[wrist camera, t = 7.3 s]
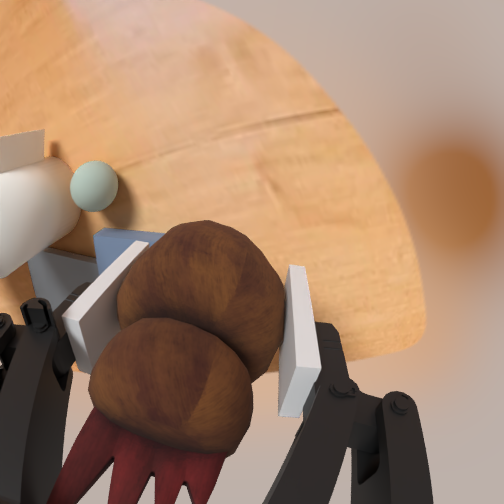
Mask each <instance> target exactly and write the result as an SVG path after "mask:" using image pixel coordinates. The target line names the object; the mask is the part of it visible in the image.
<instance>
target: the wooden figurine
mask: <svg viewBox="0 0 504 504" xmlns="http://www.w3.org/2000/svg"><path fill="white" fill-rule="evenodd" d="M117 317H118V321H119V325H120V329H121V331H120V332H118V333H117V334H116V335H115V336H114V337H113V338H112V339H111V340H110V341H109V342H108V343H107V345H106V347H105V348H104V350H103V351H102V353H101V354H100V356H99V358H98V360H97V362H96V363H95V365H94V367H93V369H92V371H91V376H90V382H89V387H88V391H89V394H90V397H91V400H92V403H93V406H94V408H93V410H92V411H91V413H90V415H89V417H88V418H87V420H86V422H85V424H84V426H83V427H82V429H81V431H80V433H79V434H78V436H77V438H76V440H75V442H74V444H73V446H72V448H71V450H70V453H69V454H68V457H67V459H66V461H65V463H64V465H63V467H62V469H61V471H60V473H59V476H58V478H57V480H56V482H55V485H54V487H53V489H52V491H51V494H50V496H49V498H48V501H47V503H46V504H77V503H78V502H79V500H80V499H81V498H82V497H83V496H84V495H85V494H86V492H87V491H88V490H89V489H90V488H91V487H92V486H93V485H94V484H95V482H96V481H97V480H98V479H99V478H100V477H101V475H102V474H103V473H104V472H105V471H106V470H107V469H108V467H109V466H110V465H111V464H112V463H113V462H114V465H113V471H112V477H111V484H110V491H109V497H108V504H137V503H138V501H139V499H140V497H141V495H142V493H143V491H144V489H145V487H146V485H147V483H148V481H149V479H150V477H151V476H153V477H155V504H175V501H176V498H177V496H178V493H179V491H180V489H181V486H182V485H185V486H187V490H188V493H189V496H190V499H191V502H192V504H207V502H208V499H209V497H210V495H211V493H212V491H213V489H214V487H215V484H216V482H217V479H218V476H219V474H220V471H221V468H222V466H223V463H224V460H225V458H227V457H228V456H230V455H232V454H234V453H235V451H236V449H237V447H238V445H239V444H240V442H241V440H242V439H243V437H244V435H245V433H246V432H247V430H248V428H249V426H250V422H251V417H252V413H253V391H252V385H251V383H253V382H254V381H255V380H256V379H258V378H259V377H260V376H261V375H263V374H264V373H265V372H266V371H267V370H268V367H269V365H270V363H271V361H272V359H273V356H274V354H275V352H276V351H277V349H278V347H279V346H280V344H281V342H282V340H283V334H284V322H285V313H284V286H283V284H282V282H281V280H280V278H279V276H278V274H277V273H276V271H275V270H274V269H273V267H272V266H271V265H270V263H269V262H268V260H267V259H266V257H265V256H264V254H263V253H262V251H261V250H260V249H259V248H258V247H257V246H256V245H255V244H254V243H253V242H252V241H251V240H250V239H249V238H248V237H247V236H246V235H244V234H242V233H240V232H239V231H237V230H235V229H233V228H232V227H229V226H225V225H222V224H219V223H216V222H213V221H210V220H204V221H197V222H190V223H183V224H180V225H177V226H175V227H173V228H171V229H170V230H169V231H168V232H167V233H166V234H164V235H163V236H162V237H161V238H160V239H159V240H158V241H156V242H155V243H154V244H153V245H152V246H151V247H150V248H148V249H147V250H146V251H145V252H144V253H143V254H142V255H141V256H140V257H139V258H138V259H137V261H136V262H135V263H134V264H133V265H132V267H131V269H130V270H129V272H128V274H127V275H126V277H125V279H124V280H123V282H122V284H121V287H120V289H119V292H118V294H117Z"/></svg>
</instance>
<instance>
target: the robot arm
mask: <svg viewBox="0 0 504 504" xmlns="http://www.w3.org/2000/svg"><path fill="white" fill-rule="evenodd" d="M148 248H149V243H148V242H142V241H135V242H134V243H133V244H132V245H131V246H130V247H129V248H127V249H126V250H125V251H124V252H123V253H122V254H121V255H120V256H119V257H118V258H117V259H116V260H115V261H114V262H113V263H112V264H111V265H110V266H109V267H108V268H107V269H106V270H105V271H104V272H103V273H102V274H101V275H100V276H99V277H98V278H97V279H96V280H95V281H94V282H93V283H90V282H85V283H84V284H82V285H80V286H78V287H77V288H76V289H75V290H74V291H73V292H72V293H71V295H69V296H68V297H67V298H66V300H64V301H63V302H62V303H61V304H60V305H59V306H58V307H57V308H56V309H55V310H54V311H52V308H51V304H50V302H49V301H48V300H46V299H45V298H33V299H30V300H28V301H26V302H24V303H23V304H22V305H21V307H20V309H21V312H22V315H23V318H24V321H25V324H26V325H15V324H13V321H12V318H11V316H10V315H8V314H7V313H0V361H1V363H2V365H1V366H0V504H46V503H47V501H48V498H49V496H50V494H51V491H52V489H53V487H54V485H55V482H56V480H57V478H58V476H59V473H60V471H61V469H62V457H63V444H64V432H65V425H66V417H67V409H68V402H69V396H70V389H71V384H72V379H73V371H72V368H71V366H72V365H73V363H74V362H75V360H76V363H77V366H78V369H79V370H80V371H82V372H85V373H88V374H90V375H91V371H92V369H93V367H94V365H95V363H96V362H97V360H98V358H99V356H100V354H101V353H102V351H103V350H104V348H105V347H106V345H107V343H108V342H109V341H110V340H111V339H112V338H113V337H114V336H115V335H116V334H117V333H118V332H120V331H121V329H120V325H119V321H118V317H117V294H118V292H119V289H120V287H121V284H122V282H123V280H124V279H125V277H126V275H127V274H128V272H129V270H130V269H131V267H132V265H133V264H134V263H135V262H136V261H137V259H138V258H139V257H140V256H141V255H142V254H143V253H144V252H145V251H146V250H147V249H148ZM284 313H285V322H284V334H283V340H282V342H281V344H280V346H279V398H278V399H279V400H278V404H279V405H278V416H283V417H295V418H299V417H300V415H301V413H302V411H303V422H302V424H301V426H300V428H299V430H298V431H297V433H296V435H295V436H296V437H295V439H294V442H293V444H292V446H291V448H290V450H289V452H288V454H287V456H286V459H285V461H284V463H283V465H282V467H281V469H280V471H279V473H278V475H277V477H276V479H275V481H274V483H273V485H272V487H271V489H270V491H269V492H268V494H267V496H266V498H265V500H264V502H263V503H262V504H328V503H329V501H330V498H331V495H332V493H333V490H334V487H335V484H336V481H337V477H338V475H339V472H340V469H341V466H342V462H343V459H344V455H345V452H346V449H347V447H349V448H351V455H352V473H351V474H352V477H351V504H433V495H432V487H431V479H430V472H429V465H428V459H427V454H426V448H425V443H424V438H423V432H422V428H421V423H420V419H419V414H418V410H417V406H416V404H415V402H414V400H413V399H412V398H411V397H410V396H409V395H407V394H405V393H403V392H398V391H394V392H390V393H388V394H386V395H385V396H384V398H383V399H382V398H378V397H374V396H371V395H367V394H365V393H362V392H361V391H360V390H359V388H358V386H357V384H356V383H355V382H354V381H353V380H351V379H350V378H349V375H348V371H347V366H346V362H345V357H344V353H343V351H342V345H341V343H340V342H341V341H340V336H339V332H338V331H337V330H336V329H335V327H334V326H333V325H332V324H330V323H321V322H314V316H313V310H312V304H311V298H310V292H309V287H308V281H307V276H306V270H305V267H303V266H297V265H290V264H289V268H288V273H287V278H286V282H285V287H284Z"/></svg>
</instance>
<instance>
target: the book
mask: <svg viewBox="0 0 504 504" xmlns="http://www.w3.org/2000/svg"><path fill="white" fill-rule="evenodd" d="M164 234H166V233H155V232H145V231H134V230H124V229H113V228H103V229H102V230H100V231H99V232H97V233H96V234H94V235H93V239H94V246H95V253H96V260H97V266H98V272H99V276H100V275H101V274H102V273H103V272H104V271H105V270H106V269H107V268H108V267H109V266H110V265H111V264H112V263H113V262H114V261H115V260H116V259H117V258H118V257H119V256H120V255H121V254H122V253H123V252H124V251H125V250H126V249H127V248H129V247H130V246H131V245H132V244H133V243H134V242H135V241H142V242H148V243H149V248H150V247H151V246H152V245H153V244H154V243H155V242H156V241H158V240H159V239H160V238H161V237H162V236H163V235H164Z"/></svg>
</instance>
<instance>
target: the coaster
mask: <svg viewBox="0 0 504 504" xmlns="http://www.w3.org/2000/svg"><path fill="white" fill-rule="evenodd" d="M28 266H29V270H30V275H31V279H32V283H33V287H34V291H35V295H36V298H45V299H46V300H48V301H49V302H50V304H51V308H52V311H54V310H55V309H56V308H57V307H58V306H59V305H60V304H61V303H62V302H63V301H64V300H66V298H67V297H68V296H69V295H71V293H72V292H73V291H74V290H75V289H76V288H77V287H78V286H80V285H82V284H84V283H85V282H90V283H93V282H94V281H95V280H96V279H97V278H98V277H99V272H98V266H97V260H96V258H93V257H89V256H84V255H80V254H75V253H71V252H67V251H62V250H58V249H54V248H49V247H47V248H45V249H44V250H43V251H41V252H40V253H38V254H37V255H35V256H34V257H32V258H31V259H30V260H28Z"/></svg>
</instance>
